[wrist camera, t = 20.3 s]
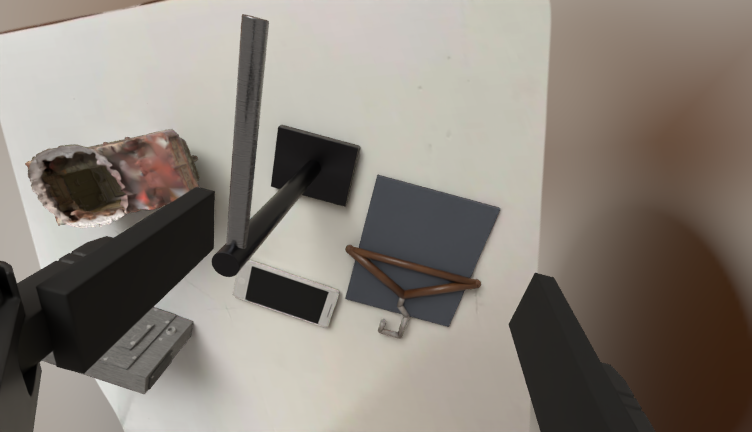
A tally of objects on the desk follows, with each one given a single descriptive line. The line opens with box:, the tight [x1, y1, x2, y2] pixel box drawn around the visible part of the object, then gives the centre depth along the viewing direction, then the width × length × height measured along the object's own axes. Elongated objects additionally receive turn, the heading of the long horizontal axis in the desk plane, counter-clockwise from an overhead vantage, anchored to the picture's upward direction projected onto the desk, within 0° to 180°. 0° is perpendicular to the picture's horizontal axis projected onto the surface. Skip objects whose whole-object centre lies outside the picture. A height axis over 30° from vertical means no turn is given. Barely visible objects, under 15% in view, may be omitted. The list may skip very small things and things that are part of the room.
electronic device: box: [41, 307, 193, 394], centre depth 51 cm, size 17×7×20 cm, turn 71°
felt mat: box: [345, 175, 500, 327], centre depth 50 cm, size 16×20×1 cm
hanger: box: [345, 245, 481, 338], centre depth 52 cm, size 19×1×14 cm
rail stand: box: [212, 14, 360, 277], centre depth 33 cm, size 20×10×24 cm, turn 166°
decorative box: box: [25, 129, 199, 228], centre depth 44 cm, size 13×20×10 cm, turn 96°
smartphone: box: [233, 260, 340, 327], centre depth 55 cm, size 7×15×1 cm, turn 72°
